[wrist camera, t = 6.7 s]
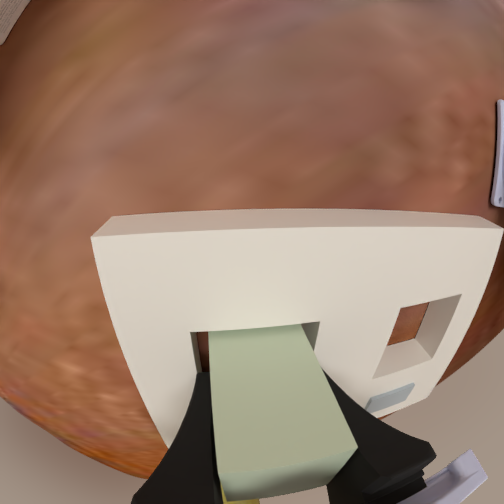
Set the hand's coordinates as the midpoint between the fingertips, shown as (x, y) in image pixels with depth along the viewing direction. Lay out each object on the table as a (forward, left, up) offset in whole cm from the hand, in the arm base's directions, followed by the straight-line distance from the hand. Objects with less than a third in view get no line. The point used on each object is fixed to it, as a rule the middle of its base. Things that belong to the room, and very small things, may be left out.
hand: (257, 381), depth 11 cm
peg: (0, 0, -3) cm, 3 cm away
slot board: (-5, +1, -3) cm, 6 cm away
